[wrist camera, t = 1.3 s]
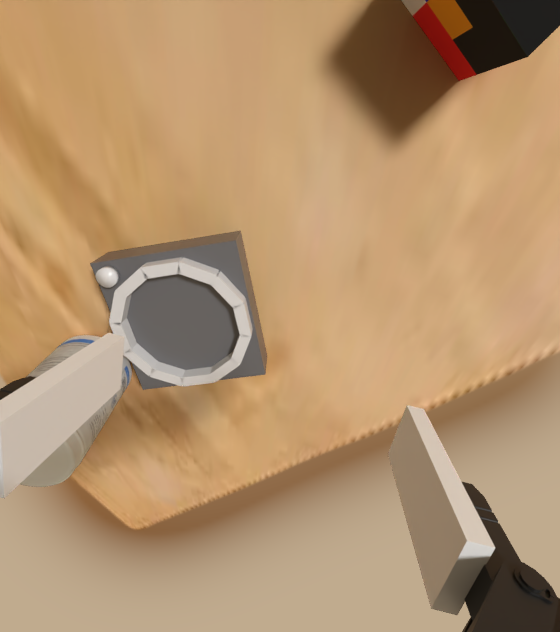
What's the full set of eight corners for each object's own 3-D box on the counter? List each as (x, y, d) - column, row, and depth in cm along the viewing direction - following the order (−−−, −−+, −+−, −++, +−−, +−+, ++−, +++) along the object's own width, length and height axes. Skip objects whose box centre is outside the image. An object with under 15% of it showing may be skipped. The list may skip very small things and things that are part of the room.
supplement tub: (44, 351, 45) (-57, 438, 32) (100, 319, 43) (17, 398, 29) (95, 403, 49) (25, 500, 35) (150, 376, 46) (96, 470, 33)
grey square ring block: (108, 252, 39) (82, 268, 34) (240, 230, 38) (233, 244, 33) (154, 370, 46) (138, 397, 41) (267, 355, 45) (264, 382, 40)
